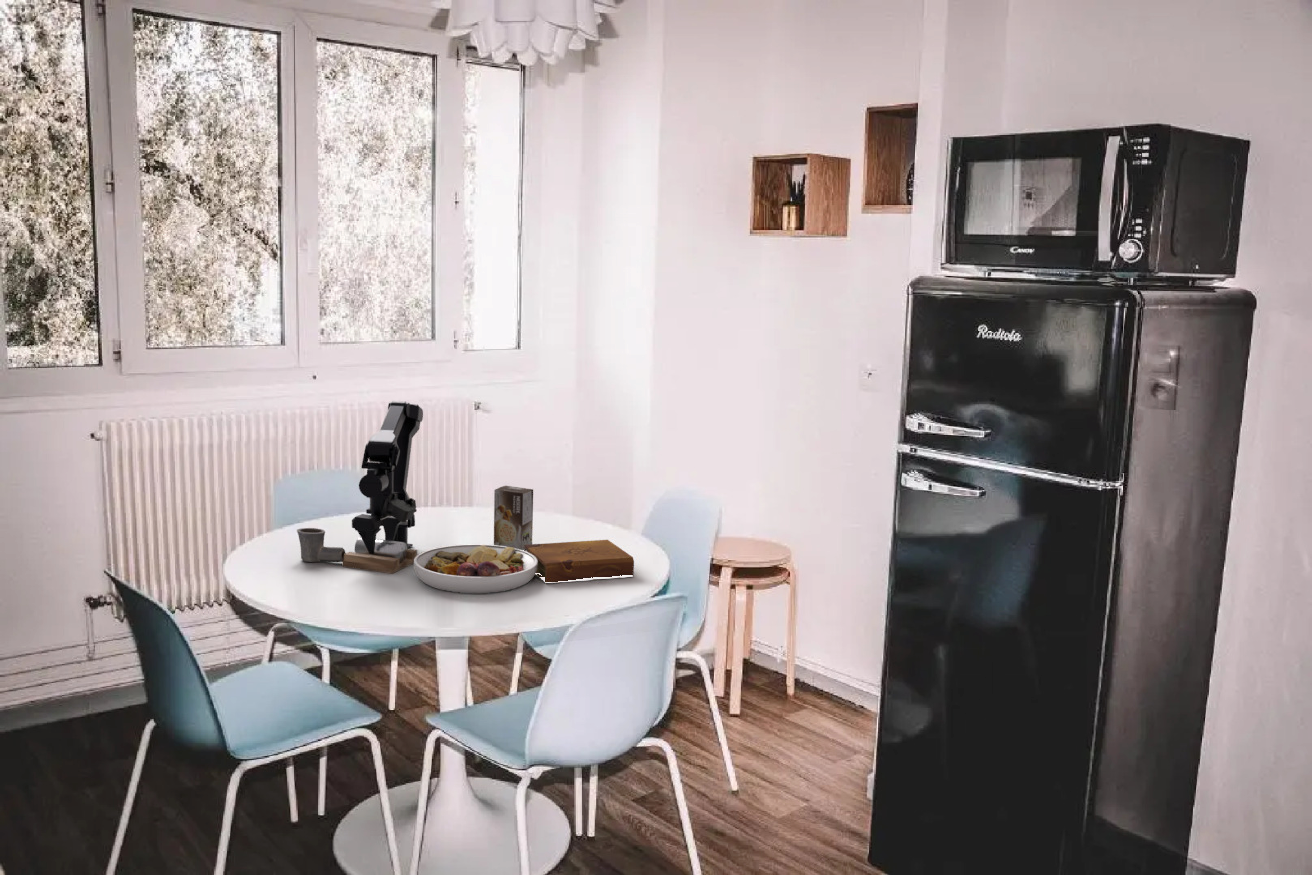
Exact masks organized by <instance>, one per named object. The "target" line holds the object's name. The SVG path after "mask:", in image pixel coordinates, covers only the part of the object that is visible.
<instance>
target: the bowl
mask: <svg viewBox="0 0 1312 875" xmlns="http://www.w3.org/2000/svg"><path fill="white" fill-rule="evenodd" d="M537 567H538V560H537V558H536V557H535V556H534V555H532V554H530V553H528V552H527V550H524V551H523V550H520V549H516V548H513V547H512V548H511V547H505V546H498V545H494V544H480V543H474V544H473V543H472V544H454V545H445V546H440V547H435V548H430V549H427V550H425V551H422V552H420V553H419V554H418V553H417V556H416V557H415V559H414V563H413V568H414V569H413V570H414V572H415V574H416V576H417V578H419V580H421V581H422V582H423V583H424V584H426V585H428V586H429V587H431V588H434V589H437V590H441V591H445V590H446V592H450V591H452V592H451V593H458V592H460V593H461V594H490V593H489V592H494V593H499V592H498V591H502V592H505V591H504V590H507V591H510V589H511V590H514V589H517V588H519V587H522V586H524V585H526V584H527V583H529V582H530V581H531V580H532V579H533V578H534V576H536V575H535V573H536V571H537ZM460 593H459V594H460Z"/></svg>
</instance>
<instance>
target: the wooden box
mask: <svg viewBox="0 0 1312 875" xmlns="http://www.w3.org/2000/svg"><path fill="white" fill-rule="evenodd" d="M524 548H525V549H526V550H525V551H526V552H528V553H530V554H532V555H534V556H535V557H536V558H537V560H538V567H537V571H536V573H540V574H541V575H542V576H541V575H539V574H537V575H538V576H539V577H545V582H558V581H568V580H576V579H583V578H591V577H592V578H593V577H612V576H620V575H621V576H622V575H633V576H634V574H635V573H634V569H635V568H634V567H635V560H634V557H633V556H632V555H630V554H629V553H628V552H626V551H625V550H623V549H622V548H620V547H619V546H618V545H616V544H615V543H613V542H611V541H610V540H609V539H597V540H594V539H593V540H580V541H565V542H563V541H562V542H549V543H548V542H546V543H534V544H533V543H532V544H530V545H524ZM539 577H538V578H539Z"/></svg>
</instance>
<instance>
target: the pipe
mask: <svg viewBox="0 0 1312 875" xmlns="http://www.w3.org/2000/svg"><path fill="white" fill-rule="evenodd" d="M296 532H297V535H298V540H299V544H300V546H299V547H300V558H301V561H303V562H305V563H315V562H316V563H317V562H318V563H319V562H321V563H322V562H325V563H343V561H344V554H346V553H347V552H346V550H345V548H344V547H339V546H337V547H334V546H333V547H331V546H324V544H325V534H326V531H325V530H324V529H321V528H318V527H317V528H315V527H307V528H306V527H302V528H297V529H296Z"/></svg>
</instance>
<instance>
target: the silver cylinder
mask: <svg viewBox="0 0 1312 875" xmlns="http://www.w3.org/2000/svg"><path fill="white" fill-rule="evenodd" d="M407 549H408V548H407V545H406V544H405V543H404V542H397V541H389V540H385V539H380V538H376V542H375V550H374V554H370V553H369V552H368V550H367V548H366V546H365V544H364V542H363V540H362V538H361V536H360V537H358V538H357V539H356V542H355V544H354V552H355V553H362V554H369V555H377V556H384V557H391V558H399V562H403V561H404V560H405V558H406V555H407Z"/></svg>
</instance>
